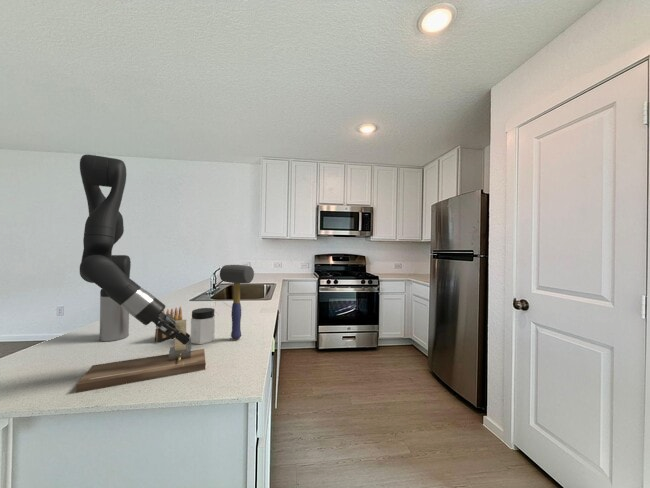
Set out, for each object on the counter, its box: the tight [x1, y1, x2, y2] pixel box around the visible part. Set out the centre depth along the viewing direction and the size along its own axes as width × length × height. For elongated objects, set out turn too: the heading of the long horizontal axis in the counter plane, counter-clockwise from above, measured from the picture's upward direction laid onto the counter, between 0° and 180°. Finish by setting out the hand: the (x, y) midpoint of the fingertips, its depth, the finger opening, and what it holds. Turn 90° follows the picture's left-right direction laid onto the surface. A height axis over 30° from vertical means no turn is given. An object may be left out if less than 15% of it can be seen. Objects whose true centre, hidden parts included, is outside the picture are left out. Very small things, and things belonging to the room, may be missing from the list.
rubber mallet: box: [219, 264, 255, 341], centre depth 106 cm, size 12×8×30 cm, turn 70°
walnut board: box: [75, 348, 207, 393], centre depth 79 cm, size 12×30×2 cm, turn 116°
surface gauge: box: [168, 319, 192, 361], centre depth 84 cm, size 10×6×11 cm, turn 26°
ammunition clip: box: [154, 306, 183, 344], centre depth 107 cm, size 11×2×12 cm, turn 153°
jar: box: [190, 307, 216, 345], centre depth 105 cm, size 9×8×12 cm
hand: (187, 340), depth 86 cm, fingers closed on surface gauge, 3 cm apart
